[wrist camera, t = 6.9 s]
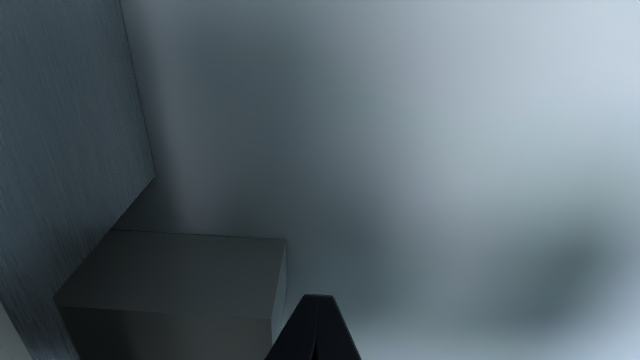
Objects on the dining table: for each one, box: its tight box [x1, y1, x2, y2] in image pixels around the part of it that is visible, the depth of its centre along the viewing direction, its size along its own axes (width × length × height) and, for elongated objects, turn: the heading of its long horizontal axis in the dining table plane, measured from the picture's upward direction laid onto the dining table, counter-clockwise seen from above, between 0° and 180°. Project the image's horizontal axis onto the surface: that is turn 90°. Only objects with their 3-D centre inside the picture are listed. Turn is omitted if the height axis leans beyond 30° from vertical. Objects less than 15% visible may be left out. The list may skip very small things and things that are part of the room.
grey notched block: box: [0, 0, 156, 360], centre depth 9 cm, size 16×5×5 cm, turn 178°
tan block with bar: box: [52, 230, 286, 360], centre depth 9 cm, size 4×13×3 cm, turn 88°
